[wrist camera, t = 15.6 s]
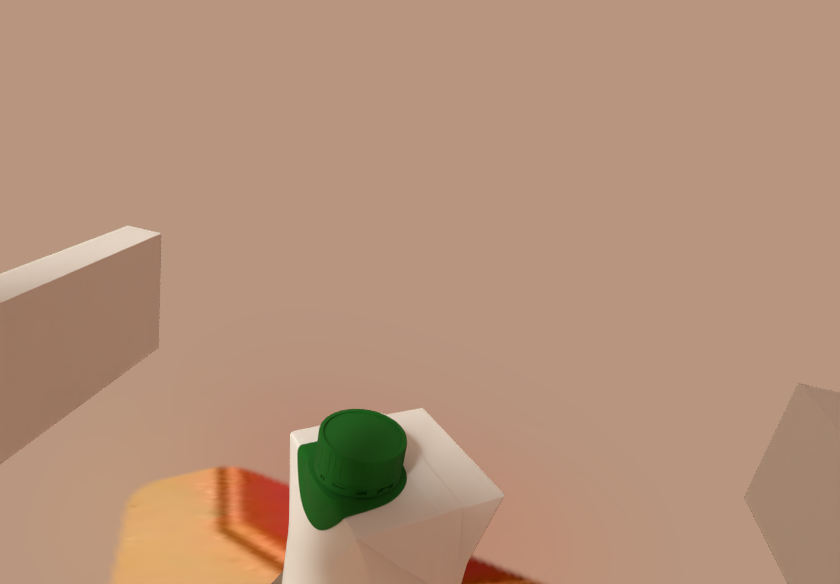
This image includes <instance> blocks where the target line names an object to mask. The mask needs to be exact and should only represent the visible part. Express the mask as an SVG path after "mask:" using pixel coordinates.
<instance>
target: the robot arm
mask: <svg viewBox="0 0 840 584" xmlns="http://www.w3.org/2000/svg"><path fill="white" fill-rule="evenodd" d="M160 268H161V233H158V232H153V231H149V230H145V229H140V228H136V227H132V226H126V227H123V228H120V229H118V230H115V231H112V232H110V233H107V234H105V235H102V236H99V237H97V238H94V239H91V240H88V241H86V242H83V243H81V244H78V245H76V246H73V247H70V248H67V249H65V250H62V251H60V252H57V253H54V254H51V255H49V256H46V257H43V258H41V259H38V260H35V261H33V262H30V263H28V264H25V265H22V266H20V267H17V268H14V269H12V270H9V271H6V272H4V273H1V274H0V464H1V463H3V462H4V461H5V460H7V459H8V458H9V457H11V456H12V455H13V454H15V453H16V452H18V451H19V450H20V449H22V448H23V447H24V446H26V445H27V444H28V443H30V442H31V441H32V440H34V439H35V438H36V437H38V436H39V435H41V434H42V433H43V432H45V431H46V430H47V429H49V428H50V427H51V426H53V425H54V424H56V423H57V422H58V421H60V420H61V419H62V418H64V417H65V416H66V415H68V414H69V413H70V412H72V411H73V410H75V409H76V408H77V407H79V406H80V405H81V404H83V403H84V402H85V401H87V400H88V399H90V398H91V397H92V396H94V395H95V394H96V393H98V392H99V391H101V390H102V389H103V388H104V387H106V386H107V385H109V384H110V383H111V382H113V381H114V380H115V379H117V378H118V377H120V376H121V375H122V374H124V373H125V372H126V371H128V370H129V369H130V368H132V367H133V366H134V365H136V364H137V363H139V362H140V361H141V360H142V359H144V358H145V357H147V356H148V355H149V354H151V353H152V352H154V351H155V350H156V349H158V347H159V308H160ZM745 500H746V502H747V503H748V506H749V507H750V509H751V512H752V514H753V516H754V518H755V520H756V522H757V524H758V526H759V528H760V529H761V532H762V533H763V536H764V538H765V539H766V542H767V544H768V546H769V548H770V549H771V551H772V554H773V556H774V558H775V560H776V561H777V564H778V565H779V567H780V570H781V572H782V574H783V576H784V578H785V580H786V581H787V584H840V393H838V392H833V391H830V390H825V389H821V388H817V387H812V386H808V385H804V384H800V383H798V385H797V387H796V389H795V391H794V393H793V395H792V397H791V399H790V401H789V404H788V406H787V408H786V410H785V412H784V414H783V417H782V419H781V421H780V423H779V425H778V427H777V429H776V431H775V433H774V435H773V438H772V440H771V442H770V444H769V446H768V448H767V450H766V452H765V455H764V457H763V459H762V461H761V463H760V465H759V467H758V470H757V471H756V474H755V476H754V478H753V480H752V482H751V484H750V486H749V488H748V491H747V493H746V495H745Z"/></svg>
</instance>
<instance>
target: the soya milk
mask: <svg viewBox="0 0 840 584" xmlns="http://www.w3.org/2000/svg"><path fill="white" fill-rule="evenodd" d="M504 496H505V495H504V493H503V492H502V491H501V490H500V489H499V488H498V487H497V486H496V485H495V484H494V483H493V482H492V481H491V480H490V479H489V477H487V476H486V474H485V473H484V472H483V471H482V470H481V469H480V468H479V467H478V466H477V465H476V464H475V463H474V462H473V461H472V460H471V458H470V457H469V456H468V455H467V454H466V453H465V452H464V451H463V450H462V449H461V448H460V447H459V446H458V445H457V444H456V443H455V442H454V441H453V440H452V438H451V437H450V436H449V435H448V434H447V433H446V432H445V431H444V430H443V429H442V428H441V427H440V426H439V425H438V424H437V423H436V422H435V421H434V419H433V418H432V417H431V416H430V415H429V414H428V413H427V412H426V411H425V410H424V409H423V408H420V409H414V410H409V411H403V412H398V413H393V414H388V415H385V414H384V413H378V412H375V411H371V410H364V409H348V410H342V411H339V412H336V413H333V414H331V415H330V416H328V417H327V418H326V419H325V420H324V421H323V422H322V423H321V425H320V426H316V427H310V428H305V429H301V430H296V431H292V433H291V434H290V504H289V530H288V539H287V547H286V555H285V562H284V570H283V578H282V584H461V583H462V579H463V576H464V572H465V569H466V565H467V563H468V561H469V559H470V557H471V555H472V554H473V552H474V550H475V548H476V546H477V544H478V543H479V541H480V539H481V537H482V535H483V533H484V532H485V530H486V528H487V526H488V524H489V523H490V521H491V519H492V517H493V515H494V513H495V512H496V510H497V508H498V506H499V504H500V503H501V501H502V499H503V497H504Z"/></svg>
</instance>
